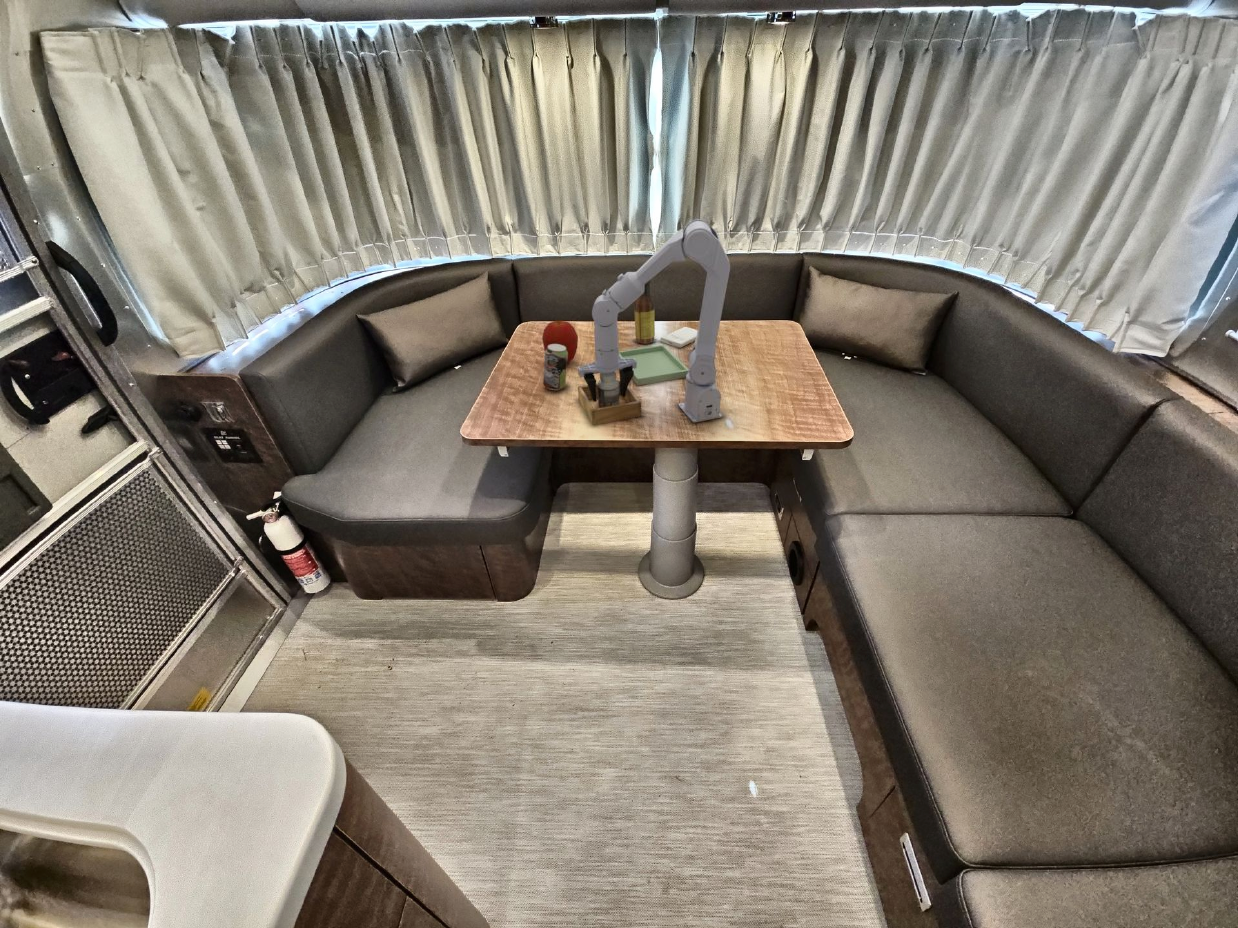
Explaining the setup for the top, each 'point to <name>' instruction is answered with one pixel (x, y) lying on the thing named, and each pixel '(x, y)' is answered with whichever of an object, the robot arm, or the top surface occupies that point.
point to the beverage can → (555, 366)
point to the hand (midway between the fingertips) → (608, 397)
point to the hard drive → (680, 337)
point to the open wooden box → (609, 407)
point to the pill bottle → (608, 390)
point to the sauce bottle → (644, 317)
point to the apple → (561, 337)
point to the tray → (655, 364)
